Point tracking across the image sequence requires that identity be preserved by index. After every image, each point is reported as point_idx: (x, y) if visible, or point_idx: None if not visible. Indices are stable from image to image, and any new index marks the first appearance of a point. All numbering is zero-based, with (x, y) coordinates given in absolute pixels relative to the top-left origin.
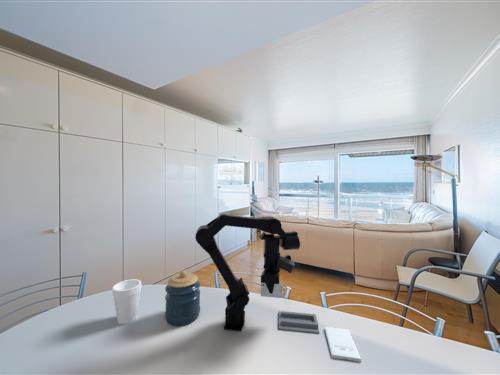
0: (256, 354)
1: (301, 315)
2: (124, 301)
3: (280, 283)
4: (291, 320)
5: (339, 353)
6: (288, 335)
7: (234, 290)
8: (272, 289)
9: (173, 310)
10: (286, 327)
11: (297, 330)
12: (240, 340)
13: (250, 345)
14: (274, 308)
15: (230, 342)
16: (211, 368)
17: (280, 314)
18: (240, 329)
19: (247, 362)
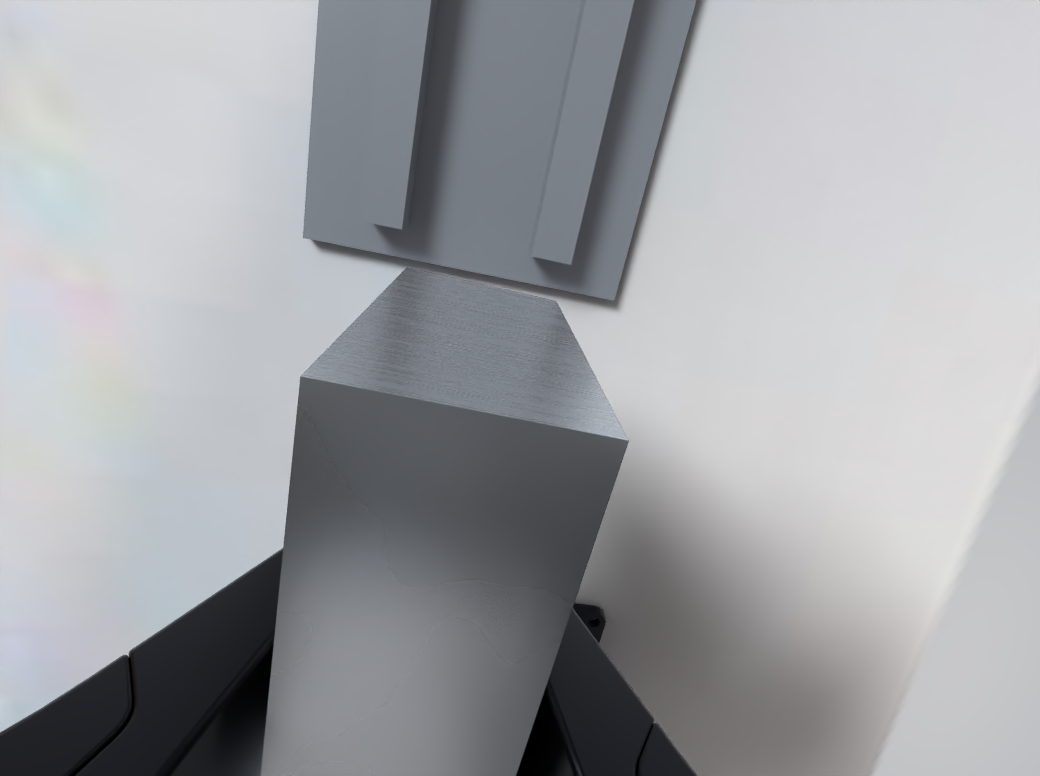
0: (855, 512)
1: None
2: None
3: (485, 504)
4: (570, 122)
5: None
6: (713, 209)
7: None
8: (579, 645)
9: None
10: (618, 208)
11: (674, 78)
12: (697, 608)
13: (761, 546)
14: (222, 273)
15: (703, 664)
16: (878, 732)
17: (371, 227)
18: (601, 622)
19: (902, 567)
